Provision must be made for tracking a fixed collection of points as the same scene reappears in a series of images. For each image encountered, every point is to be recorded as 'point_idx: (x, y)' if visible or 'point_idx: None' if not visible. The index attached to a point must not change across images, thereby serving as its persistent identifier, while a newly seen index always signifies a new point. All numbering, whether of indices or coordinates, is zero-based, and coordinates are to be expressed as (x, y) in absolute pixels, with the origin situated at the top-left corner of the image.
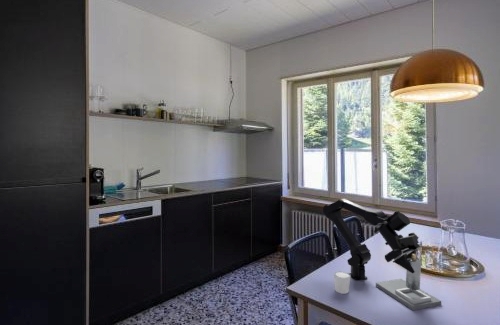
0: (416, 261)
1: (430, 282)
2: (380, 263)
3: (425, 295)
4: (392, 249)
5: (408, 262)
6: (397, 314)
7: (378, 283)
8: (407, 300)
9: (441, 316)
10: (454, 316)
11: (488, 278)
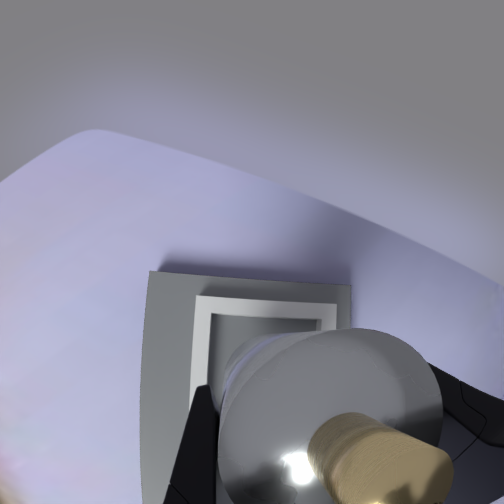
0: (339, 402)
1: (14, 433)
2: None
3: (208, 325)
4: None
5: (460, 404)
6: (425, 288)
7: None
8: None
9: (258, 205)
10: (200, 185)
11: None
